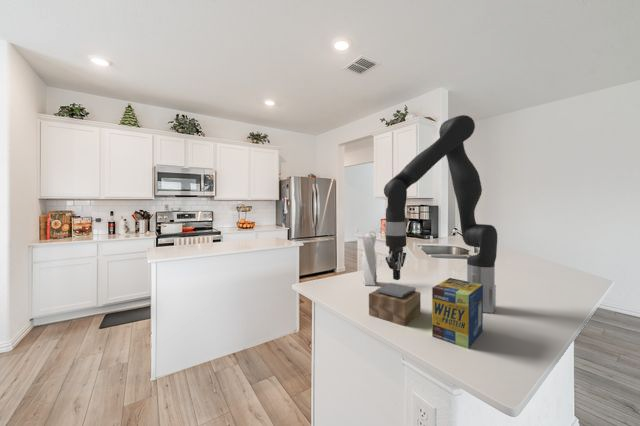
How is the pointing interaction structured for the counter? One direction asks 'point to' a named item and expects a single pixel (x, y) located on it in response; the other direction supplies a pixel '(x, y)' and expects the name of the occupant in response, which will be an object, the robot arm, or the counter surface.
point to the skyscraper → (369, 260)
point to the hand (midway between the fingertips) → (396, 279)
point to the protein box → (457, 311)
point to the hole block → (395, 307)
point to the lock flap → (396, 290)
